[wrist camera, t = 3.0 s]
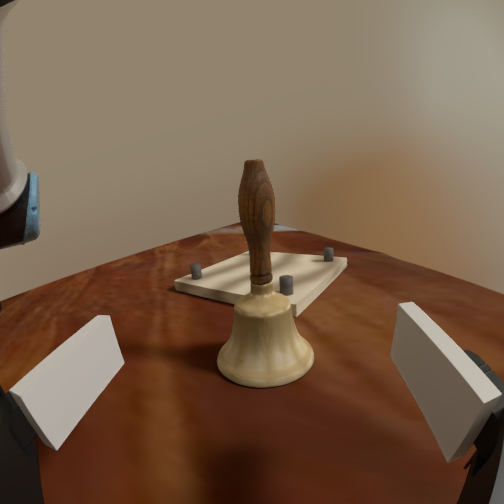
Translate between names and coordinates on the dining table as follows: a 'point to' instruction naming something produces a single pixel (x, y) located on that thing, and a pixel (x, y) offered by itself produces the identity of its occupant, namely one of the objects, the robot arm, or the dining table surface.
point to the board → (284, 280)
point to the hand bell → (262, 301)
